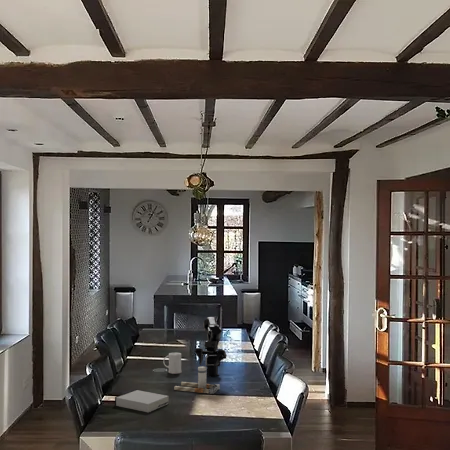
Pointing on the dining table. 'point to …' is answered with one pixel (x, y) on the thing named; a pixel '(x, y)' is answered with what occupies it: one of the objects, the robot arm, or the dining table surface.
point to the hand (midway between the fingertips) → (207, 365)
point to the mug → (174, 363)
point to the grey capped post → (202, 377)
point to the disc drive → (141, 400)
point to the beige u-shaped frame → (201, 390)
